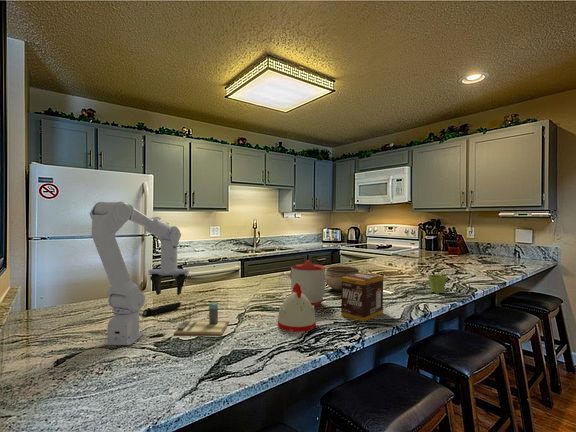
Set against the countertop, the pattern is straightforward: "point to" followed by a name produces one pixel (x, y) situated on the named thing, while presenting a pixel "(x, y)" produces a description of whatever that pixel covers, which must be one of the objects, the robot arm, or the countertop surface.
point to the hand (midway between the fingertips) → (168, 294)
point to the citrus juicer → (309, 281)
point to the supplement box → (362, 296)
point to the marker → (213, 313)
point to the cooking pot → (338, 275)
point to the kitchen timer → (296, 312)
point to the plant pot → (437, 283)
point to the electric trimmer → (160, 309)
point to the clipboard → (201, 328)
